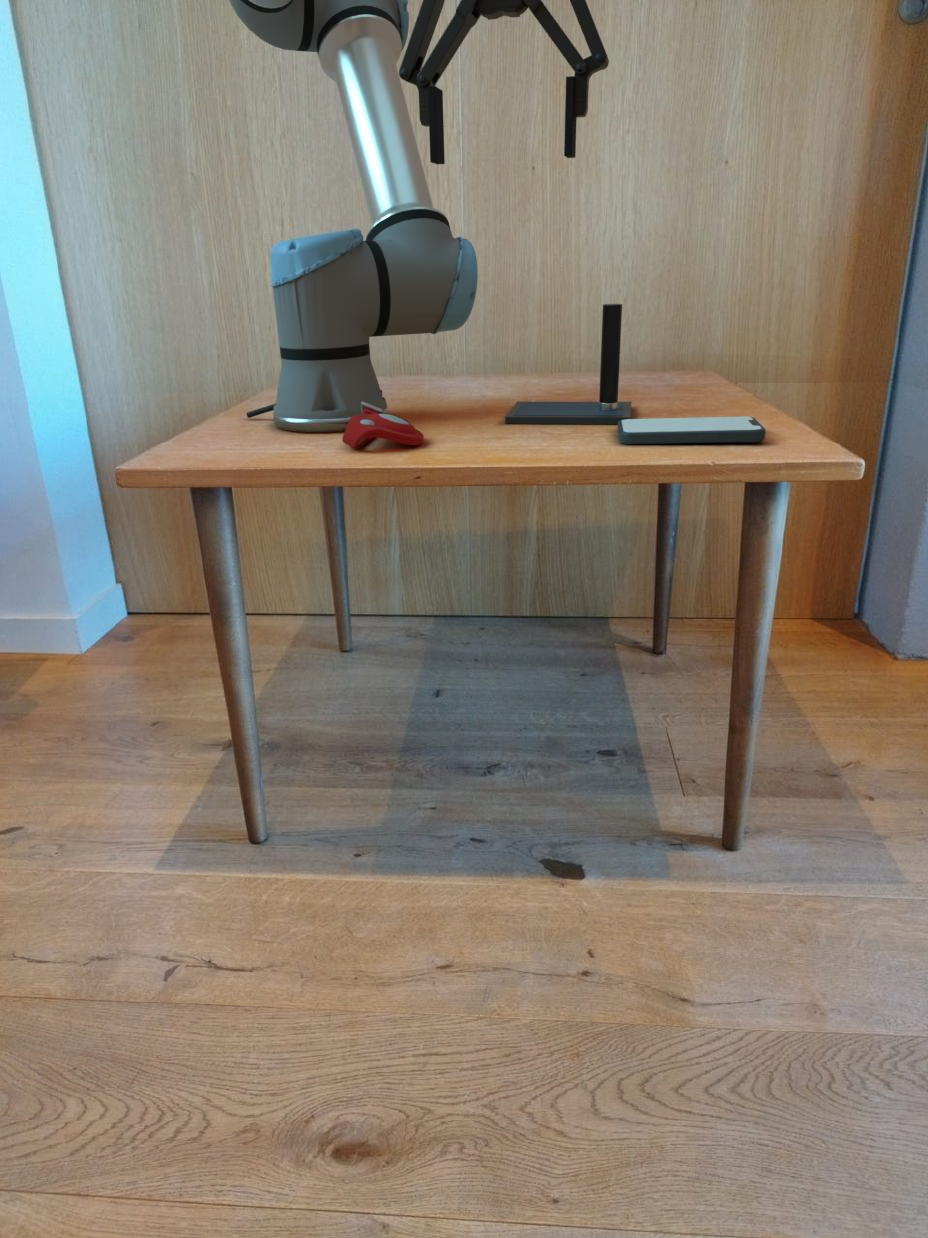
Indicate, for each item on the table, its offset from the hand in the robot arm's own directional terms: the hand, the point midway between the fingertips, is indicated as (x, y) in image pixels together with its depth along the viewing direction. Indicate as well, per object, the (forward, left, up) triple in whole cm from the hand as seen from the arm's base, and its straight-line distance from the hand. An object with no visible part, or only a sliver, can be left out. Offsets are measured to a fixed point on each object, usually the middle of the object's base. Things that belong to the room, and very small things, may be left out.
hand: (502, 160), depth 82 cm
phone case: (+16, +14, -29) cm, 36 cm away
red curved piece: (-14, -5, -29) cm, 33 cm away
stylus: (+2, +21, -28) cm, 35 cm away
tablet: (-3, +20, -29) cm, 35 cm away
